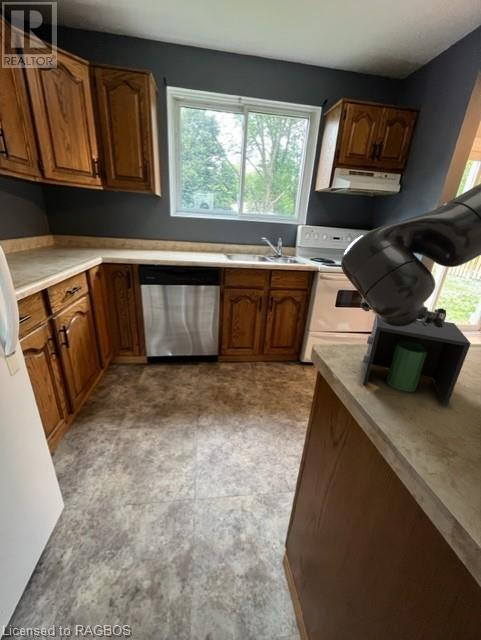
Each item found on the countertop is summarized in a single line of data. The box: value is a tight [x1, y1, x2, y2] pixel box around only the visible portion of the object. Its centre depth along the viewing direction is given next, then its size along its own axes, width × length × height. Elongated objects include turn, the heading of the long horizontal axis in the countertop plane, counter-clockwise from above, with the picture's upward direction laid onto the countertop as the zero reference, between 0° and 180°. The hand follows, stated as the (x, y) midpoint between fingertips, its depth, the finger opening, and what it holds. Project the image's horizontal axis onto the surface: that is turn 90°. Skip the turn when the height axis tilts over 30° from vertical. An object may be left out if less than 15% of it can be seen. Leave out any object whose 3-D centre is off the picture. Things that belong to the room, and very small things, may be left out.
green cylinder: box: [386, 341, 428, 393], centre depth 63 cm, size 6×6×10 cm
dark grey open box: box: [362, 314, 472, 407], centre depth 64 cm, size 18×13×15 cm
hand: (403, 316), depth 59 cm, fingers open, 8 cm apart
